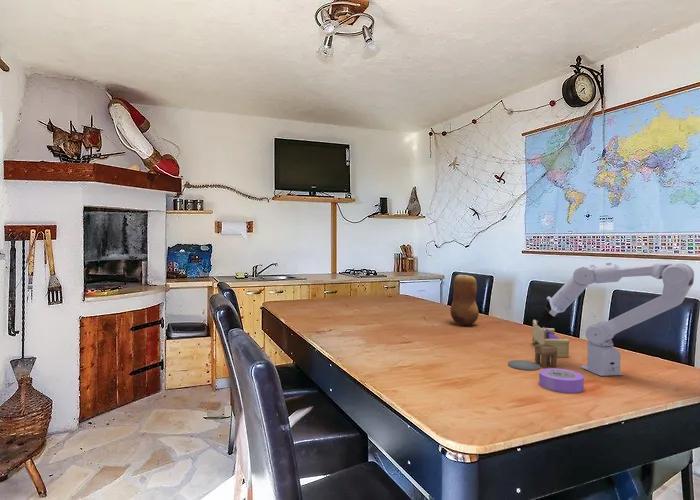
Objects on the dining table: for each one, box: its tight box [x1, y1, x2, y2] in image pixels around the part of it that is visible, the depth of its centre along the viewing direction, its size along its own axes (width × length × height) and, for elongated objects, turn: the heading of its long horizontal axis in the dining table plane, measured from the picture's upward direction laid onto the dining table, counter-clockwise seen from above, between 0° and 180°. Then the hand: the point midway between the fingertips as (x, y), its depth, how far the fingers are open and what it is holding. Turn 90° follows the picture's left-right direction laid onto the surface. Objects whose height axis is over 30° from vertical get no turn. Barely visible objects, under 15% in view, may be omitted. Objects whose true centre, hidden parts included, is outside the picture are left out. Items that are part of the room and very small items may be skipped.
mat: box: [507, 359, 541, 372], centre depth 149 cm, size 10×10×1 cm
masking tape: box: [538, 367, 585, 394], centre depth 129 cm, size 12×12×4 cm
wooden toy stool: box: [534, 344, 558, 369], centre depth 150 cm, size 5×5×6 cm
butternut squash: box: [450, 274, 480, 327], centre depth 219 cm, size 14×13×25 cm
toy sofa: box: [531, 319, 570, 358], centre depth 170 cm, size 21×9×10 cm, turn 170°
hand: (540, 322), depth 158 cm, fingers open, 7 cm apart
